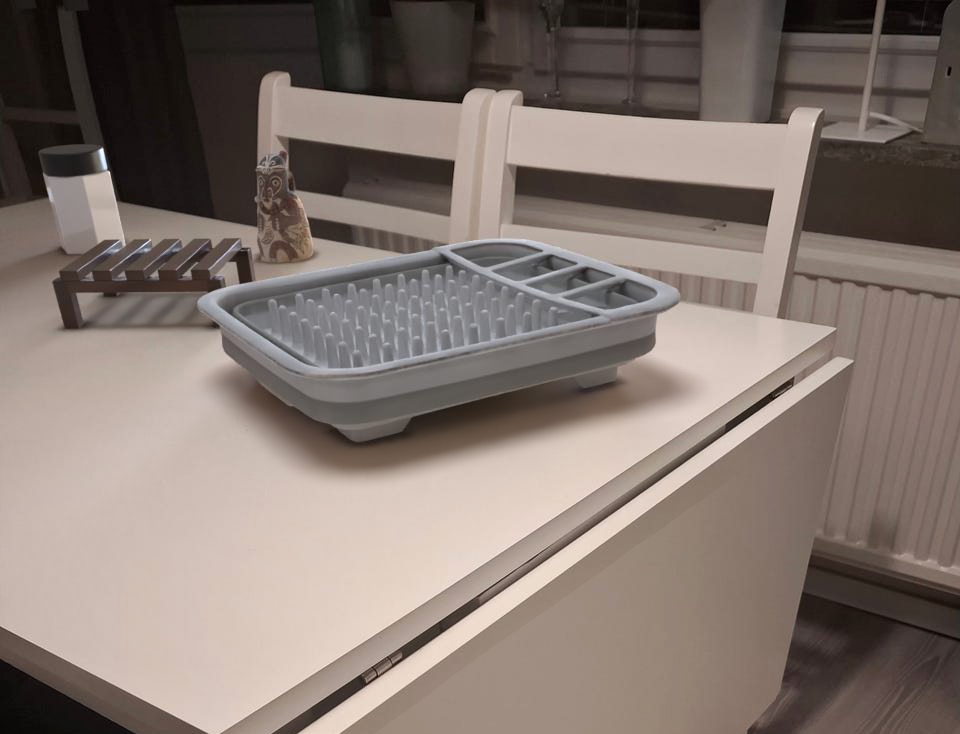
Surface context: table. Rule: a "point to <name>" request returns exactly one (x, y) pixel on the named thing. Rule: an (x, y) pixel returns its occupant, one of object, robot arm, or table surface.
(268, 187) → the figurine
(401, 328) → the dish rack
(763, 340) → the table surface
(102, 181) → the jar
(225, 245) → the rack
